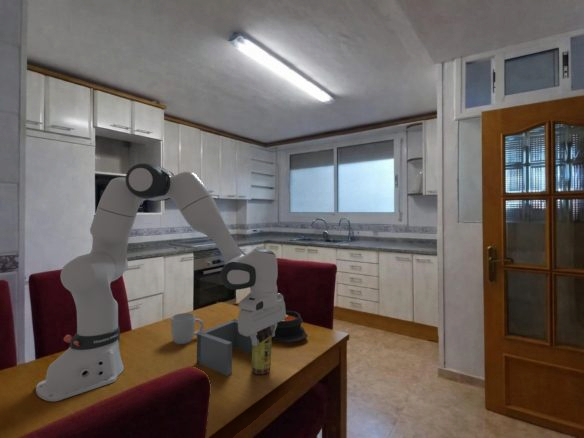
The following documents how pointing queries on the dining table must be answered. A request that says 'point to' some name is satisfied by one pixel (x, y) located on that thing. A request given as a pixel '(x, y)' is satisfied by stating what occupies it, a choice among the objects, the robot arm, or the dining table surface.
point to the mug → (184, 327)
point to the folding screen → (221, 346)
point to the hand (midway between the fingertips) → (263, 340)
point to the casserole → (290, 328)
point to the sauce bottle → (262, 352)
